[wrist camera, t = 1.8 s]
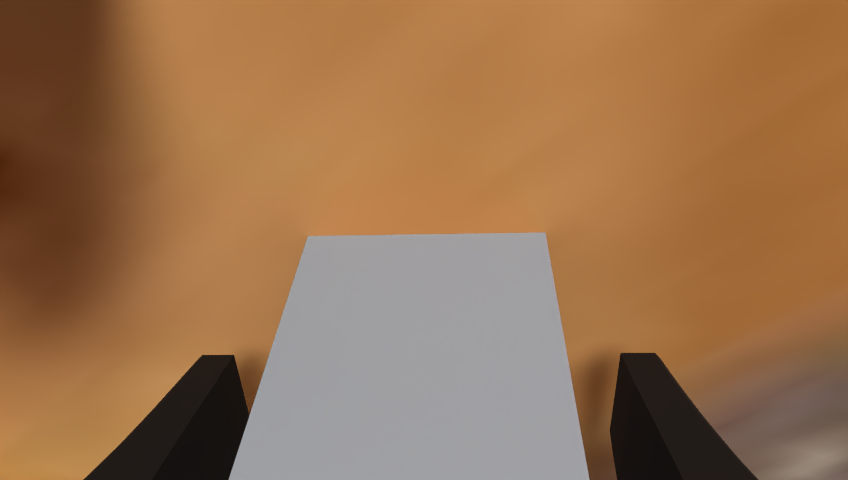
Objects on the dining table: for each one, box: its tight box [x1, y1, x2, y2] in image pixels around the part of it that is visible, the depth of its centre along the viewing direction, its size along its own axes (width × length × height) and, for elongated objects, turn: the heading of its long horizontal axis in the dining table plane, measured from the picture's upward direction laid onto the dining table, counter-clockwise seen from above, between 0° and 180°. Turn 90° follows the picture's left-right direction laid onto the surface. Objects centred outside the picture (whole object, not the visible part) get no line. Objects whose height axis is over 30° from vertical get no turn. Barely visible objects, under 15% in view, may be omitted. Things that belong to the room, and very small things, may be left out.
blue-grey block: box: [229, 233, 589, 480], centre depth 12 cm, size 5×5×7 cm
